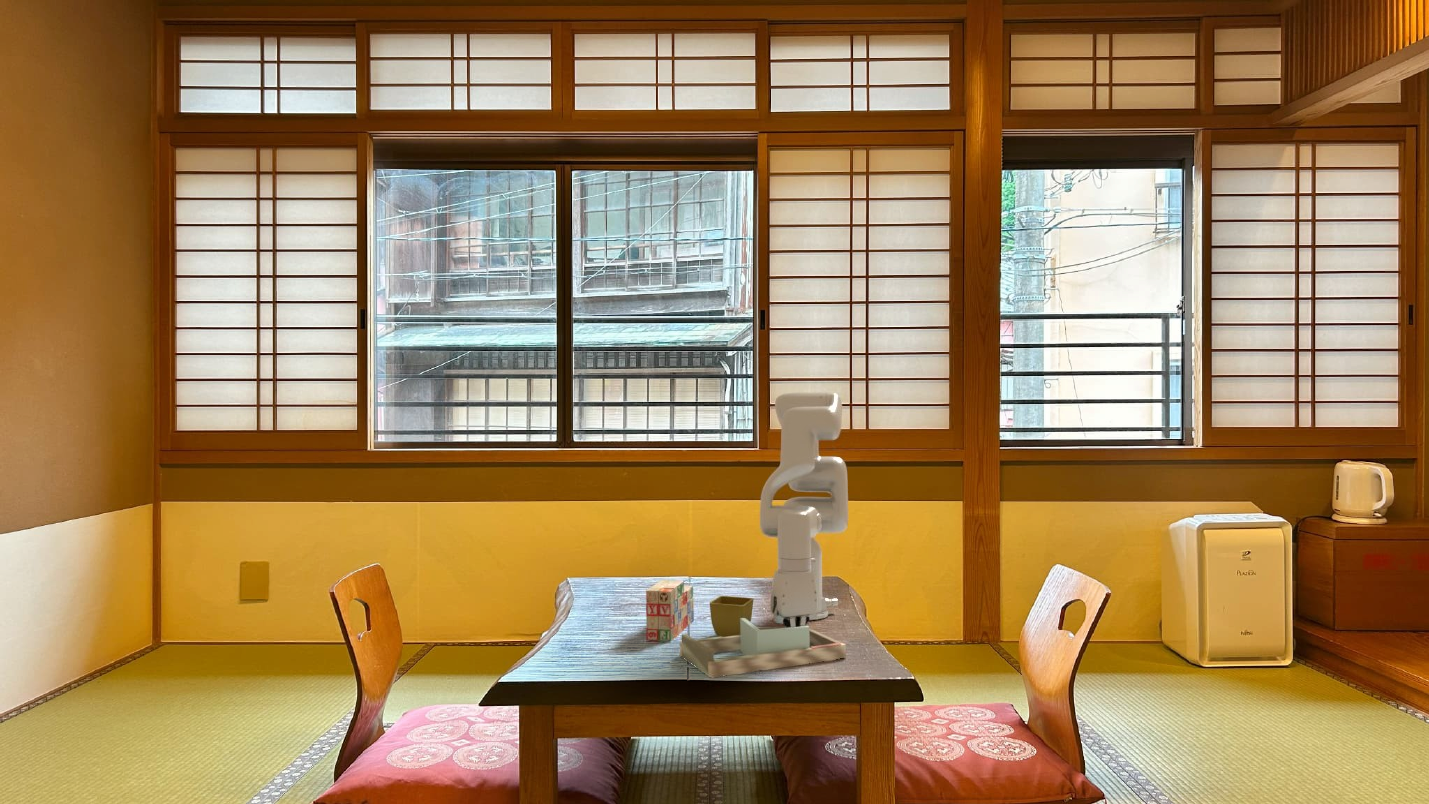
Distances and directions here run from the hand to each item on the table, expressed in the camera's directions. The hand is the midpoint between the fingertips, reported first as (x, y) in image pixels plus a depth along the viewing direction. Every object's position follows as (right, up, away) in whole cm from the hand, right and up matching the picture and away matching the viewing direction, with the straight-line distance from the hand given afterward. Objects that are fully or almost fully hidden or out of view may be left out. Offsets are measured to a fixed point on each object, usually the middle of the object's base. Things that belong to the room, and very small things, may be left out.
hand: (795, 646), depth 187 cm
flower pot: (-14, -2, +14) cm, 20 cm away
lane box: (-8, -1, -3) cm, 9 cm away
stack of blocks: (-29, -3, +21) cm, 36 cm away
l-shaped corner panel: (-5, -2, -3) cm, 6 cm away
